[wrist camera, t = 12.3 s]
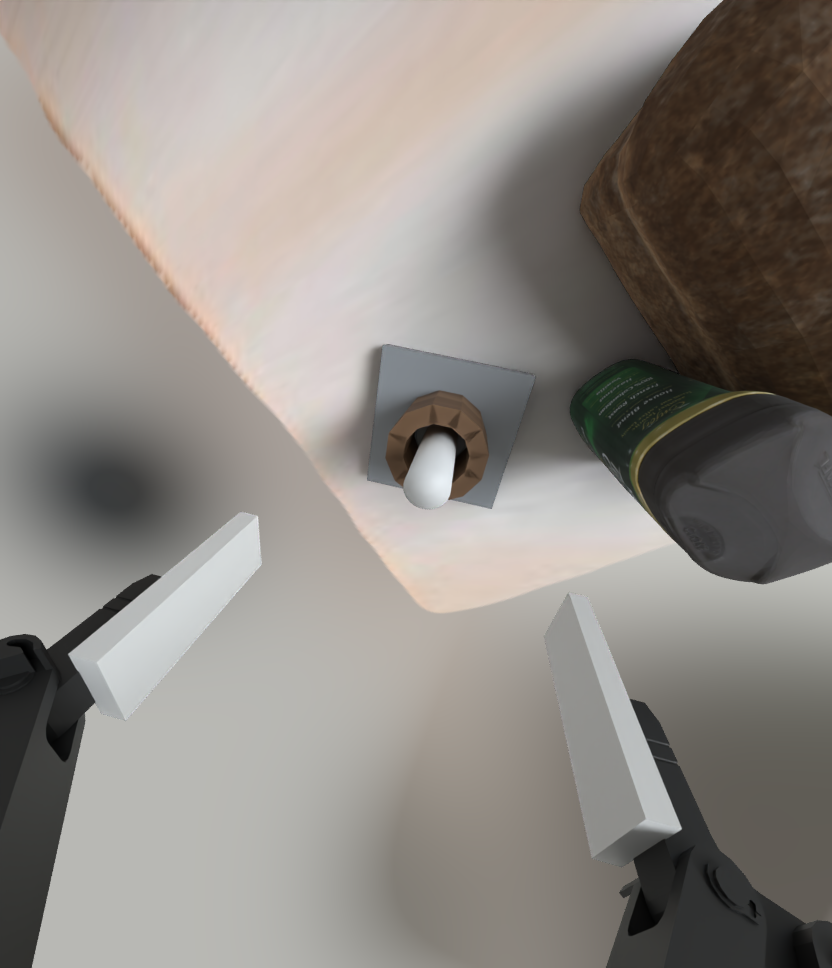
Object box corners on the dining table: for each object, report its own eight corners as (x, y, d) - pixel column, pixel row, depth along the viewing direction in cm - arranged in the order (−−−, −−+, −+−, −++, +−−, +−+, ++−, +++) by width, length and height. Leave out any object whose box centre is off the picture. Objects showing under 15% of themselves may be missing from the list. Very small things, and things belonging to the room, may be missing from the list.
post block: (388, 344, 31) (332, 357, 19) (532, 373, 30) (573, 408, 18) (372, 472, 38) (322, 545, 25) (490, 499, 37) (499, 589, 24)
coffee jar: (552, 402, 31) (642, 490, 15) (635, 342, 28) (866, 370, 12) (605, 474, 33) (733, 619, 17) (687, 426, 30) (941, 549, 14)
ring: (407, 383, 31) (393, 395, 25) (495, 402, 30) (500, 418, 25) (394, 463, 34) (380, 488, 29) (472, 481, 34) (472, 510, 29)
